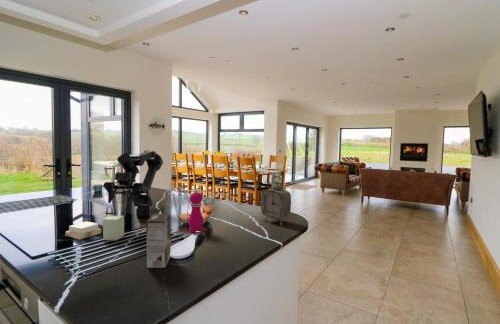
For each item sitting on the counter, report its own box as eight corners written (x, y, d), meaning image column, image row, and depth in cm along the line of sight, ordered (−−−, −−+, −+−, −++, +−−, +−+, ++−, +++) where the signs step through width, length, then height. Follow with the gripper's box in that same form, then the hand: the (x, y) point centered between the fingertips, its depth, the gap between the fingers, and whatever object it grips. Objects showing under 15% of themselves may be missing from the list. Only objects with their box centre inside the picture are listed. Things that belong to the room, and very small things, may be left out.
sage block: (110, 235, 123) (110, 215, 122) (123, 235, 123) (123, 215, 122) (103, 240, 117) (103, 219, 116) (117, 240, 117) (117, 219, 116)
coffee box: (153, 256, 101) (153, 213, 100) (171, 256, 102) (171, 213, 101) (146, 268, 92) (145, 220, 91) (165, 267, 93) (165, 220, 91)
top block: (86, 226, 129) (86, 221, 129) (98, 229, 125) (98, 223, 125) (69, 231, 121) (69, 225, 121) (81, 234, 118) (81, 228, 118)
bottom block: (87, 230, 130) (87, 225, 130) (101, 234, 126) (101, 229, 126) (65, 237, 121) (65, 231, 121) (79, 241, 117) (79, 235, 117)
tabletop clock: (260, 221, 150) (261, 175, 148) (270, 218, 156) (272, 174, 154) (282, 227, 140) (283, 178, 138) (292, 223, 146) (293, 176, 145)
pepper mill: (206, 229, 134) (206, 188, 132) (198, 234, 127) (199, 191, 125) (193, 227, 136) (193, 187, 134) (185, 232, 129) (185, 189, 128)
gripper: (104, 165, 131) (90, 193, 121) (142, 166, 130) (132, 194, 120) (114, 178, 140) (102, 205, 130) (150, 179, 139) (140, 207, 129)
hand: (118, 203), depth 127 cm, fingers open, 9 cm apart
